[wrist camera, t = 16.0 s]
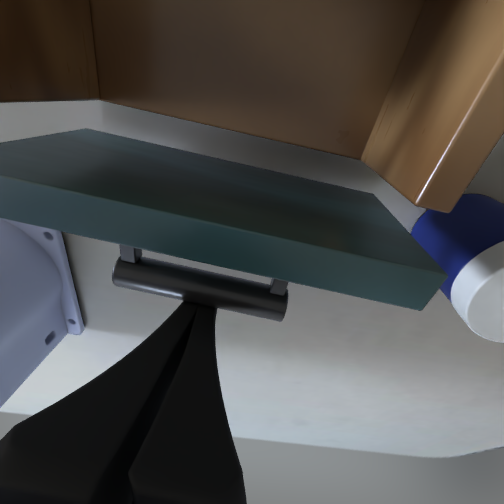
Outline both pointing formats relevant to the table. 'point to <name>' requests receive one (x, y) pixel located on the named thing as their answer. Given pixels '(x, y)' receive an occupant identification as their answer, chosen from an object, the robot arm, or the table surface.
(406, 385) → the table surface
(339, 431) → the table surface
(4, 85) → the drawer
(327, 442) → the table surface
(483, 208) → the blue jar
